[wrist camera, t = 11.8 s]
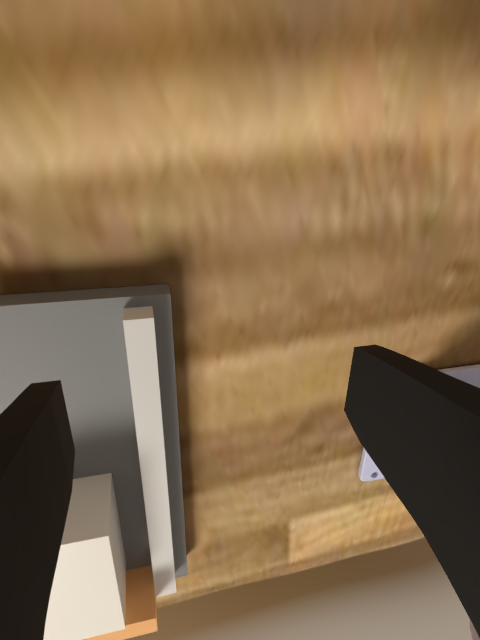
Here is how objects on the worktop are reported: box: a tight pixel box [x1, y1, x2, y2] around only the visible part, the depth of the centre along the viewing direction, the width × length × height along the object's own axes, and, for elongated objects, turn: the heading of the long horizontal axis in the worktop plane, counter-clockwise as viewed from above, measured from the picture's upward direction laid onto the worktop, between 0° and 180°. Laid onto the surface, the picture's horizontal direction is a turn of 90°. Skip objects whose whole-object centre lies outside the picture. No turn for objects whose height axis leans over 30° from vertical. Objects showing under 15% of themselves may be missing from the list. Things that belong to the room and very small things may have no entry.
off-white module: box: [43, 473, 126, 640], centre depth 20 cm, size 4×7×4 cm, turn 179°
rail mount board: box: [0, 284, 188, 640], centre depth 19 cm, size 11×19×4 cm, turn 179°
